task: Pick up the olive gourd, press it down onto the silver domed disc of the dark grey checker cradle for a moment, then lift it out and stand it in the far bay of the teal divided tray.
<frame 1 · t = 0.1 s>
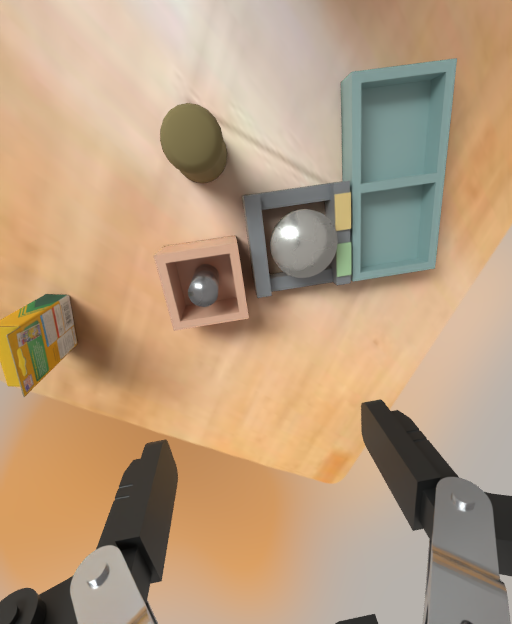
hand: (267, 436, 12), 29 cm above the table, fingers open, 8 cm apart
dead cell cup: (207, 275, 39), on the table
silver domed disc: (300, 242, 35), point 3 cm above the table, slide at -0.2 cm
olive gourd: (200, 154, 34), on the table
crayon box: (62, 319, 39), on the table
teal divided tray: (385, 183, 37), on the table
checker cradle: (294, 238, 38), on the table
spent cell: (206, 276, 38), point 1 cm above the table, touching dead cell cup
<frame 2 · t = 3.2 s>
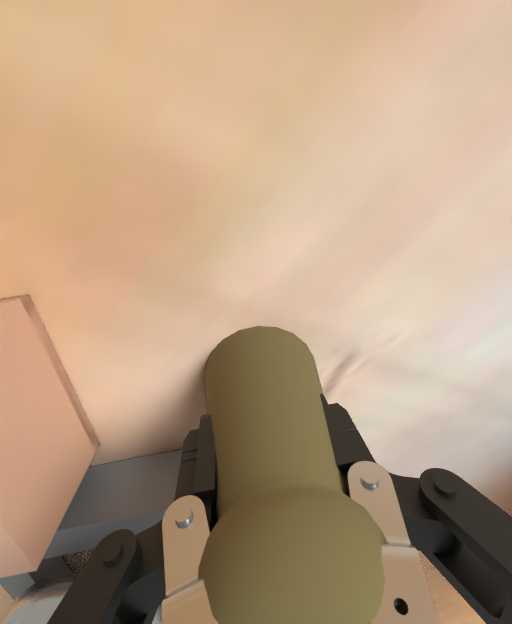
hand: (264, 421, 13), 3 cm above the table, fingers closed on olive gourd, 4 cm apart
silver domed disc: (95, 599, 16), point 3 cm above the table, slide at -0.2 cm
olive gourd: (260, 374, 16), on the table, touching gripper
checker cradle: (117, 532, 19), on the table
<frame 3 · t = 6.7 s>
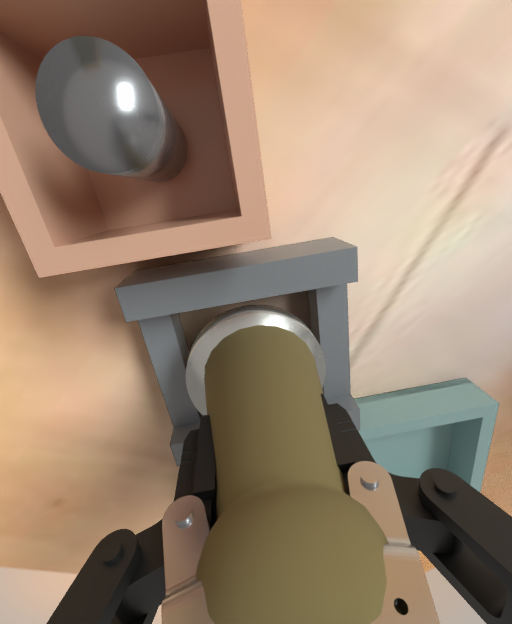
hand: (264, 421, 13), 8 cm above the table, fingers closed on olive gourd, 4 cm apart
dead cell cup: (157, 148, 15), on the table
silver domed disc: (254, 360, 18), point 2 cm above the table, slide at -1.2 cm, touching olive gourd
olive gourd: (260, 373, 16), point 4 cm above the table, touching gripper, silver domed disc
teal divided tray: (331, 455, 25), on the table
checker cradle: (250, 341, 20), on the table
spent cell: (154, 146, 15), point 1 cm above the table, touching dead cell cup
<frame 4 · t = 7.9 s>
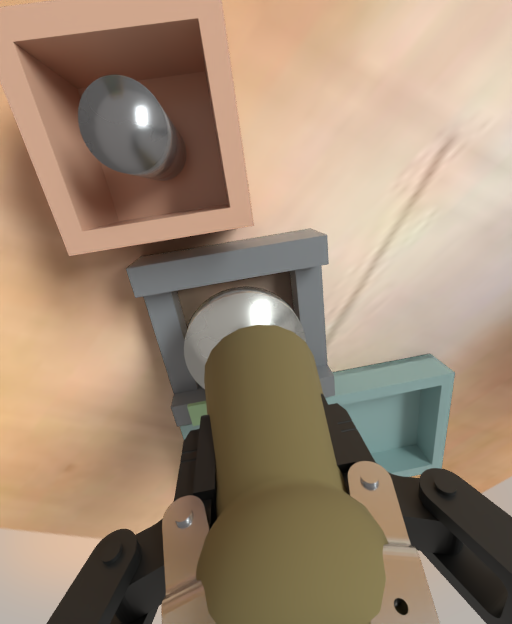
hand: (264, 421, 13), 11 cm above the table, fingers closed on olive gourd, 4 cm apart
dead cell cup: (160, 152, 18), on the table
silver domed disc: (243, 337, 20), point 3 cm above the table, slide at -0.6 cm
olive gourd: (260, 373, 16), point 7 cm above the table, touching gripper
teal divided tray: (314, 425, 28), on the table
checker cradle: (240, 319, 23), on the table
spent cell: (159, 151, 18), point 1 cm above the table, touching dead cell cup
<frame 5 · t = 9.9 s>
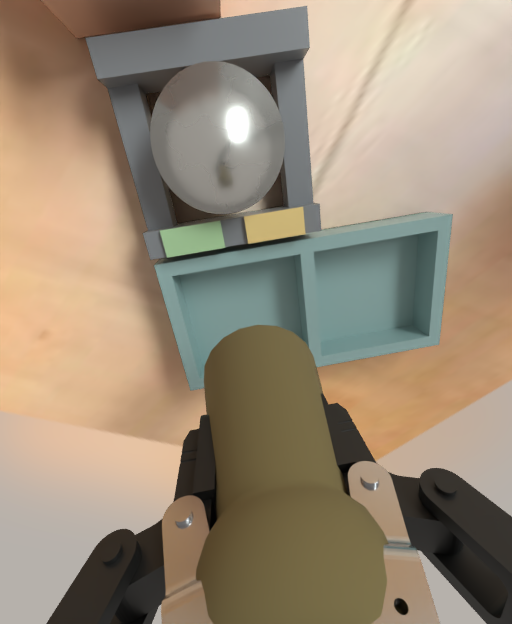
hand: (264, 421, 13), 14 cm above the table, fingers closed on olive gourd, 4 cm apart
silver domed disc: (219, 148, 18), point 3 cm above the table, slide at -0.6 cm
olive gourd: (259, 373, 16), point 11 cm above the table, touching gripper
teal divided tray: (302, 296, 26), on the table
checker cradle: (220, 154, 21), on the table
when the fingers open (5 cm above the table, at t = 11.6 s): olive gourd stays where it is, resting on teal divided tray.
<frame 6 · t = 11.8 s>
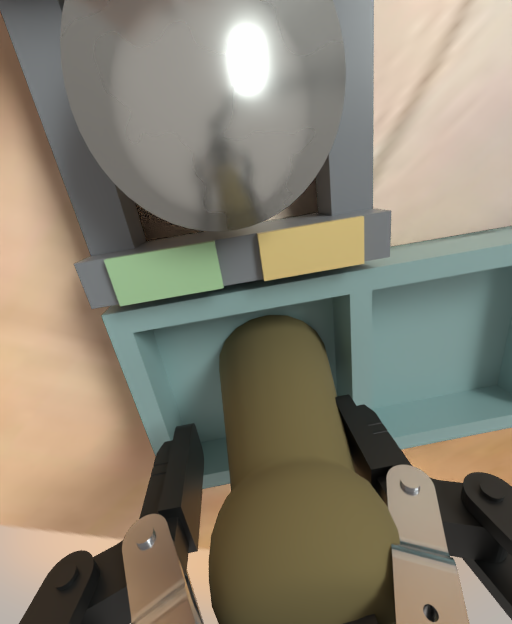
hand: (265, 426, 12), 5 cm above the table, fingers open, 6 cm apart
silver domed disc: (213, 107, 10), point 3 cm above the table, slide at -0.6 cm
olive gourd: (272, 361, 17), point 1 cm above the table, touching gripper, teal divided tray
teal divided tray: (339, 347, 17), on the table
checker cradle: (215, 126, 13), on the table
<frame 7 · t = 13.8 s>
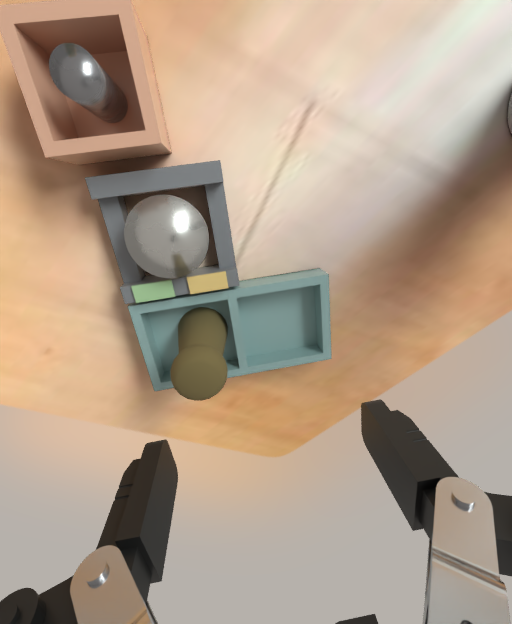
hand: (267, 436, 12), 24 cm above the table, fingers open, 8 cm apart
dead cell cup: (111, 104, 27), on the table
silver domed disc: (170, 236, 29), point 3 cm above the table, slide at -0.6 cm
olive gourd: (203, 329, 36), resting on teal divided tray
teal divided tray: (236, 324, 37), on the table
checker cradle: (174, 232, 32), on the table
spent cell: (108, 102, 26), point 1 cm above the table, touching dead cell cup
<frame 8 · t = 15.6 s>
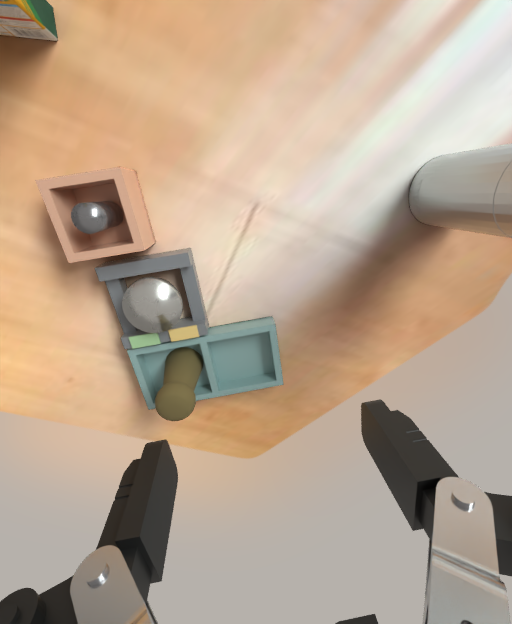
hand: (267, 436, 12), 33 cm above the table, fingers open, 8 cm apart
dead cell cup: (112, 213, 39), on the table
silver domed disc: (155, 302, 40), point 3 cm above the table, slide at -0.6 cm
olive gourd: (184, 362, 47), resting on teal divided tray
crayon box: (20, 21, 31), on the table
teal divided tray: (210, 358, 48), on the table
checker cradle: (159, 295, 43), on the table
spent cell: (110, 214, 38), point 1 cm above the table, touching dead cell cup
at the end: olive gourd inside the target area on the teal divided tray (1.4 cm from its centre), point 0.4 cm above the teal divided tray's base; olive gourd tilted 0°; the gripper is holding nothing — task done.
